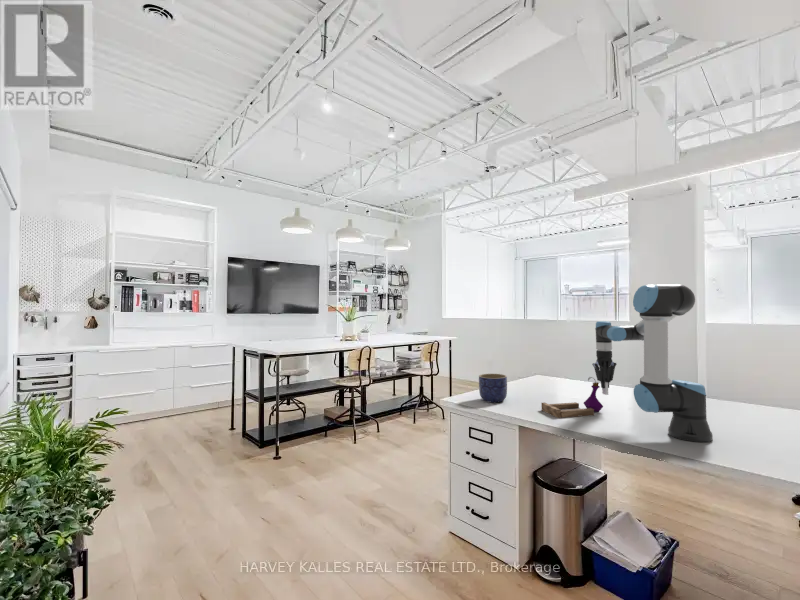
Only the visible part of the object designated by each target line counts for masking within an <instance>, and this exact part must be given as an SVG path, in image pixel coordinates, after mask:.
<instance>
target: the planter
mask: <svg viewBox="0 0 800 600" xmlns="http://www.w3.org/2000/svg"><path fill="white" fill-rule="evenodd" d="M478 389H479V396H480V398H481V399H482V400H483V401H484V402H487V403H494V404H495V403H502V402H504V401H505V400H506V398H507V396H508V376H507V375H506V374H502V373H482V374H479V375H478Z"/></svg>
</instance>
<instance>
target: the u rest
mask: <svg viewBox="0 0 800 600" xmlns="http://www.w3.org/2000/svg"><path fill="white" fill-rule="evenodd" d="M541 411H543V412H544V413H547V414H548V415H550V414H551V416H552V417H554V416H555V417H554V418H556V417H557V419H558V418H559V419H561V418H572V417H573V418H575V417H589V416H595V412H594V409H592V408H586V407H585V408H580V403H579V402H564V403H563V402H561V403H546V402H541Z"/></svg>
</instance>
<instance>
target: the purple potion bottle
mask: <svg viewBox="0 0 800 600" xmlns="http://www.w3.org/2000/svg"><path fill="white" fill-rule="evenodd" d="M590 379H593V380H594V382H592V385H591V388H592V390H591V394H589V396H588V398H586V400H585V401H584V402H583V404H584V405H583V406H585V408H592V409H594V413H598V412H599V413H600V411H601V410H602V409H603V407H604V405H603V404H602V403H601V402H600V401H599V399H598V398H597V390H599V389H600V388H601V385H599V381H598V382H597V381H596V379H595V377H593V376H589V377H588V379H587V381H590Z"/></svg>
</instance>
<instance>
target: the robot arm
mask: <svg viewBox="0 0 800 600" xmlns="http://www.w3.org/2000/svg"><path fill="white" fill-rule="evenodd" d="M632 299H633V300H632V305H633V307H634V310H635V311H636V312H637V313H639V317H640V318H641V320H640V321H638V322H637V323H636V324H635V325H612V322H611V321H609V320H608V321H606V320H605V321H604V320H603V321H596V322H595V328H594V329H595V349H596V350H595V351H596V353H595V355H596V361H595V362H593V363H592V366H593V368H594V372H595V376H596V379H597V381H598V382H600V388H601V393H602V395H605V396H607V395H609V388H610V383H611V381H614V380H613V379H614V375H615V374H614V373H615V369H616V366H617V362H614V361H613V359H612V358H613V351H612V349H613V342H621V341H622V342H623V341H625V342H626V341H643V376H641V377H640V378H639V383H638V384H635V386H634V388H633V396H634V399H635V400H634V401H635V402H636V404H637V406H638V408H640V410H641V411H644V412H646V413H654V414H655V413H656V414H658V413H672V415H671V420H670V423H669V426H668V429H667V431H668V435H669V436H670V437H673V438H675V439H679V440H683V441H688V442H695V443H707V442H712V441H713V432H712V431H711V428H710V425H709V423H708V420H707V419H708V418H707V402H706V401H707V391H706V388H705V386H704V385H703V384H701V383H698V382H695V381H689V380H682V379H670V377H669V322H670V321H672V320H673V319H675V318H677V317H678V316H679V317H681V316H684V315H686V314H687V313H689V312H690V311H691V310H692V309H693V308H694V305H695V303H696V295H695V293H694V292H693V290H692V289H691V288H689V287H688V286H686V285H683V284H681V283H680V284H678V283H673V284H668V283H667V284H645V285H642V286H640V287H638V288H637V289H636V291H635V293H634V296H633V298H632Z"/></svg>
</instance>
